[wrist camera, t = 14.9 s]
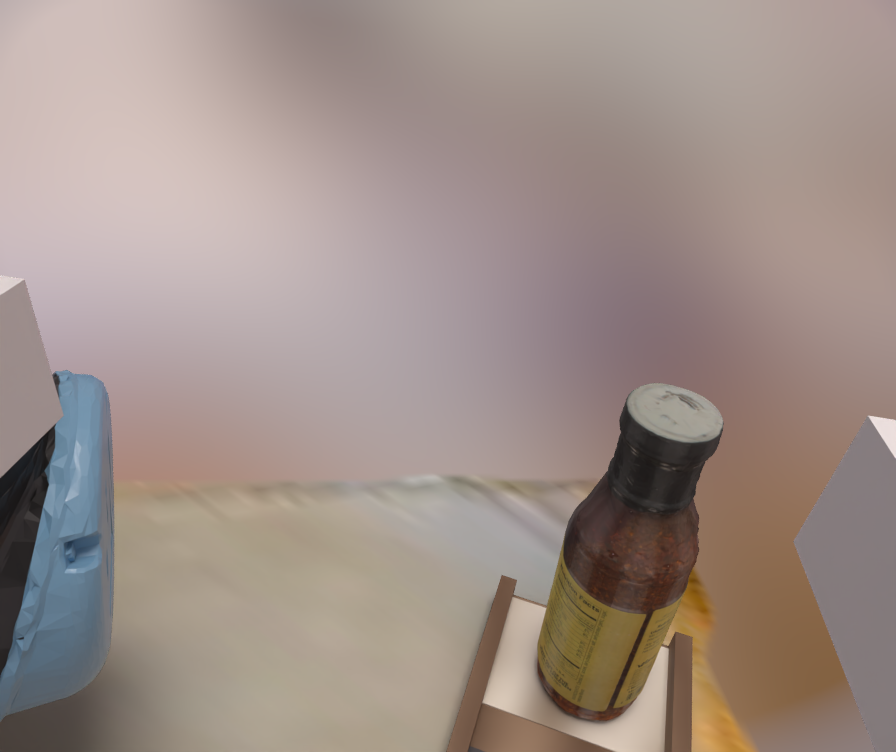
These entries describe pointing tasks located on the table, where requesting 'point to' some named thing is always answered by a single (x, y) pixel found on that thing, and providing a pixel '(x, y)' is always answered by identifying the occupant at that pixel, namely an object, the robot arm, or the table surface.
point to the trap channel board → (539, 717)
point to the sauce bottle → (628, 555)
